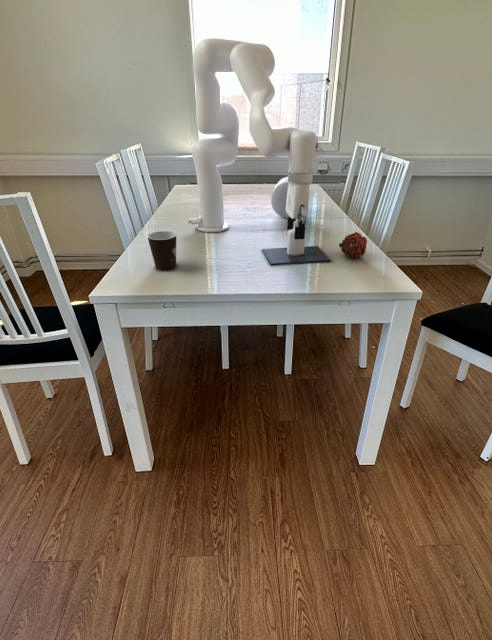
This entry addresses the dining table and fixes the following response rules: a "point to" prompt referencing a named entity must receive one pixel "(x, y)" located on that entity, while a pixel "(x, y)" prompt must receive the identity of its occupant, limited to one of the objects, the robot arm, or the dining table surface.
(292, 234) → the eye dropper bottle
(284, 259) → the mat
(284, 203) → the grey egg shape
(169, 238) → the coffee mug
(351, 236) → the dragon fruit
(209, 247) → the dining table surface
